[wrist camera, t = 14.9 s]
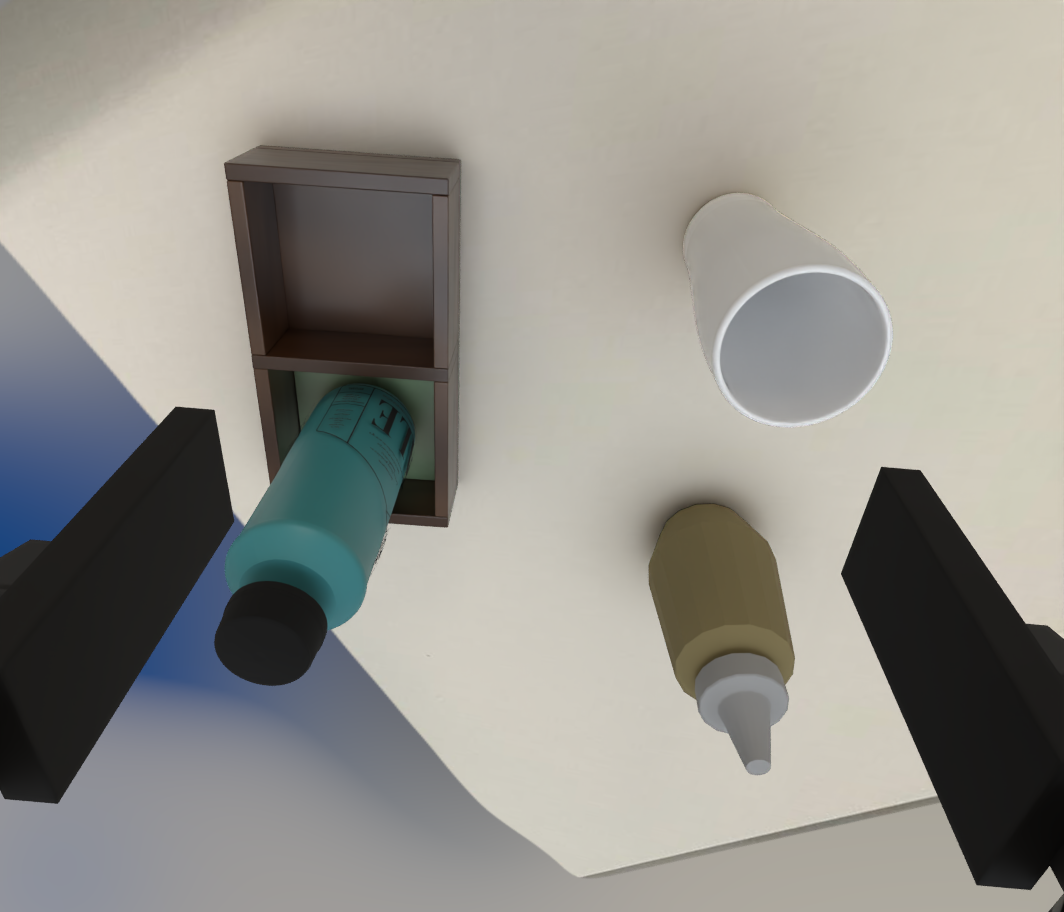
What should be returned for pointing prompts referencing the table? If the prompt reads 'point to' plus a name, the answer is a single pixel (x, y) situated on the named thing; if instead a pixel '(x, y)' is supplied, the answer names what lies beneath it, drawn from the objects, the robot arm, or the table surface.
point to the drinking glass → (782, 314)
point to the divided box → (354, 297)
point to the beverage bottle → (315, 535)
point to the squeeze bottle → (725, 624)
